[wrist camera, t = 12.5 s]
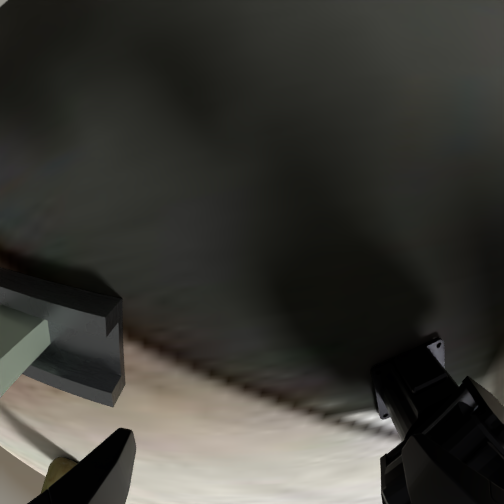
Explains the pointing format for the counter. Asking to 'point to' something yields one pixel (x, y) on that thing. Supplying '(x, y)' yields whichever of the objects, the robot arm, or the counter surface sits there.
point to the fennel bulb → (57, 471)
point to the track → (72, 336)
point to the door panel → (19, 343)
